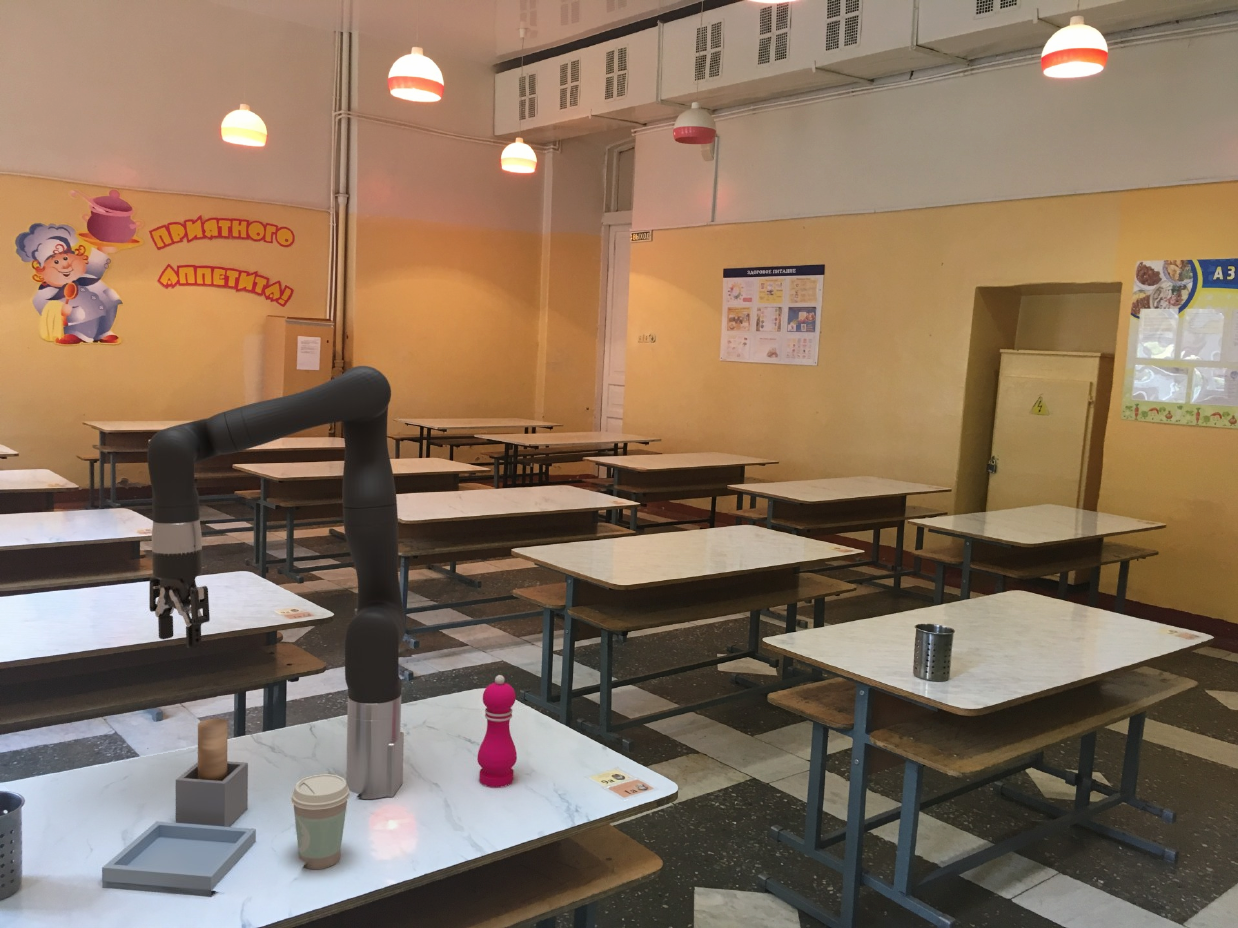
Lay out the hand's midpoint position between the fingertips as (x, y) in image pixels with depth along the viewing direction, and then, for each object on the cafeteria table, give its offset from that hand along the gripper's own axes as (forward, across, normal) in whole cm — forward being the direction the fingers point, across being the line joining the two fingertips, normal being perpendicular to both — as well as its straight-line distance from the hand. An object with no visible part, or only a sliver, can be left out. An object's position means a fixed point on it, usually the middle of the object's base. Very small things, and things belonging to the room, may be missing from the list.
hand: (179, 642), depth 159 cm
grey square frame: (+28, -11, +1) cm, 30 cm away
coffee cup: (+29, -33, -3) cm, 44 cm away
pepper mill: (+29, -34, -41) cm, 61 cm away
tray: (+28, -19, +11) cm, 36 cm away
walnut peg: (+27, -11, +1) cm, 29 cm away
